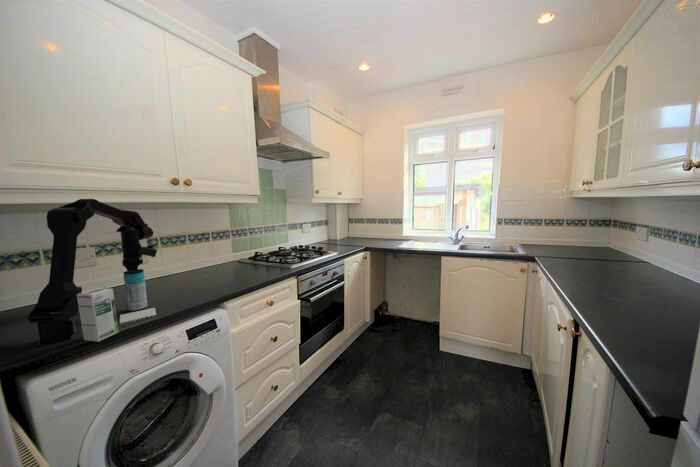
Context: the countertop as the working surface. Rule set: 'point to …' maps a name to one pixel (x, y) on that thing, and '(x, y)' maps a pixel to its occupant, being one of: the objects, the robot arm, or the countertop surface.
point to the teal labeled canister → (135, 290)
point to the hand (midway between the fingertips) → (134, 278)
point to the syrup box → (97, 314)
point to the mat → (137, 315)
